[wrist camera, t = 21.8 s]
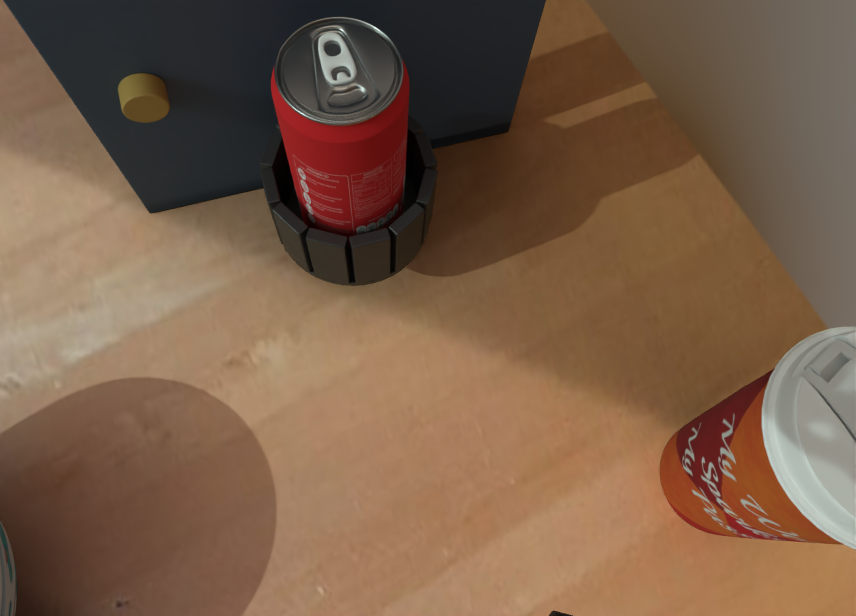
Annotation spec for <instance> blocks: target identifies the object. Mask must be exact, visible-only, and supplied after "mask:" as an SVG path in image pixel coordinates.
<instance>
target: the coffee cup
mask: <svg viewBox="0 0 856 616" xmlns="http://www.w3.org/2000/svg"><path fill="white" fill-rule="evenodd" d="M660 479H661V484H662V488H663V491H664V494H665V496H666V498H667V500H668V502H669V504H670V505H671V507H672V508H673V509H674V511H675V512H676V513H677V514H678V515H679V516H680V517H681V518H682V519H683V520H684V521H686V522H687V523H688V524H690V525H692V526H693V527H695V528H697V529H699V530H702V531H704V532H707V533H711V534H716V535H722V536H731V537H741V538H754V539H767V540H781V541H796V542H811V543H826V544H842V545H846V546H848V547H850V548H852V549H855V550H856V327H839V328H832V329H828V330H824V331H821V332H818V333H815V334H813V335H811V336H809V337H807V338H806V339H804V340H802V341H800V342H799V343H797V344H796V345H795V346H794V347H792V348H791V349H790V350H789V351H788V352H787V353H786V354H785V355H784V356H783V357H782V359H781V360H780V361H779V362H778V364H777V365H776V367H775V368H774V369H773V370H771V371H770V372H768V373H766V374H765V375H763V376H762V377H760V378H758V379H757V380H755V381H753V382H752V383H750V384H748V385H746V386H745V387H743V388H741V389H740V390H738V391H737V392H735V393H734V394H732V395H731V396H729V397H728V398H726V399H725V400H723V401H722V402H720V403H719V404H717V405H715V406H714V407H712V408H711V409H709V410H708V411H706V412H704V413H703V414H701V415H700V416H698V417H697V418H695V419H694V420H692V421H691V422H689V423H688V424H687V425H685V426H684V427H682V428H681V429H680V430H679V431H678V432H676V433H675V434H674V435H673V436H672V438H671V439H670V440H669V442H668V443H667V445H666V447H665V449H664V451H663V454H662V457H661V462H660Z"/></svg>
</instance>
